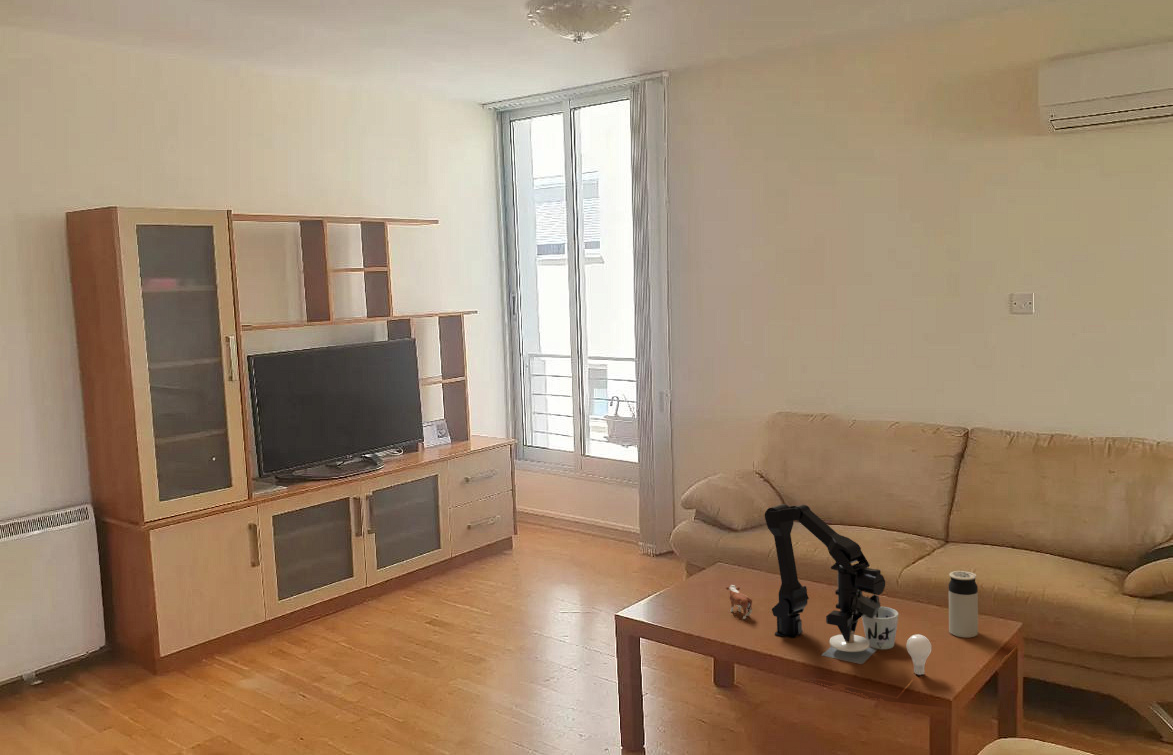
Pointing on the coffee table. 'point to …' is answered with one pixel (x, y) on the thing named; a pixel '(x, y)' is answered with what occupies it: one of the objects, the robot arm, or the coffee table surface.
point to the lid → (849, 643)
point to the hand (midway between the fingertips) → (849, 639)
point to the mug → (881, 628)
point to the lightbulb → (919, 651)
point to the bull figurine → (740, 600)
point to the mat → (849, 655)
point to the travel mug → (963, 604)
